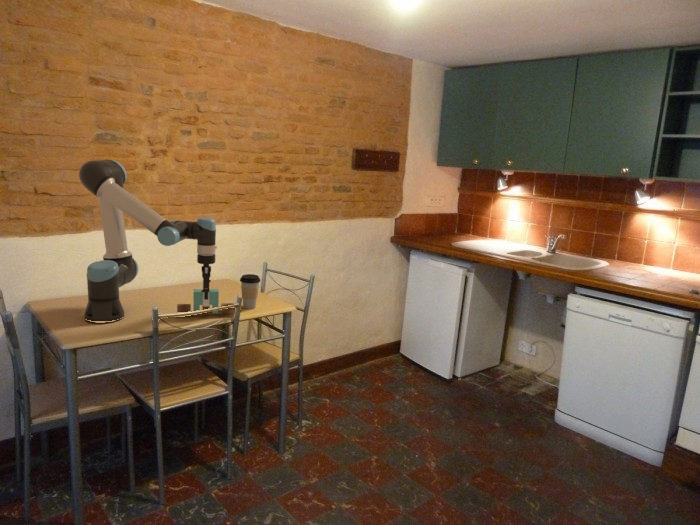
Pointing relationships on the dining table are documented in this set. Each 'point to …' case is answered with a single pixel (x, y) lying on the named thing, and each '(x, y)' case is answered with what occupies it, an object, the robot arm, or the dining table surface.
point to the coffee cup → (249, 290)
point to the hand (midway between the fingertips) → (206, 301)
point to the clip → (212, 299)
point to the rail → (222, 313)
